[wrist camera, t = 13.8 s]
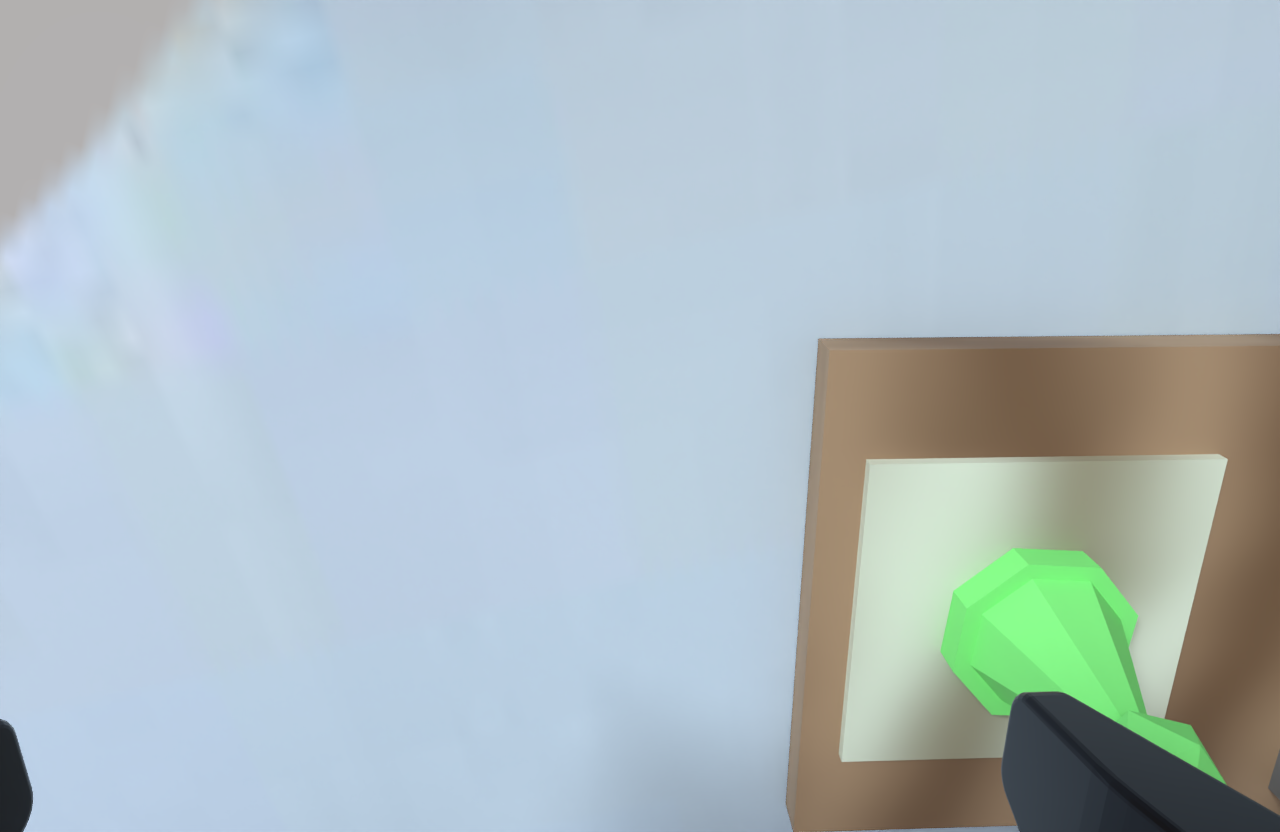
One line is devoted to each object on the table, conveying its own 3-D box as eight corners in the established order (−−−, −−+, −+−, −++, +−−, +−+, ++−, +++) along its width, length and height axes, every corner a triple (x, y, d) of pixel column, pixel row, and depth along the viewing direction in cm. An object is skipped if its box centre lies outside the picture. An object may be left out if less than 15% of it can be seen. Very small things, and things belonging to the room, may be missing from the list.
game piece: (1049, 724, 21) (1212, 946, 16) (903, 662, 20) (1019, 872, 15) (1156, 586, 20) (1375, 772, 14) (1006, 514, 19) (1174, 681, 14)
